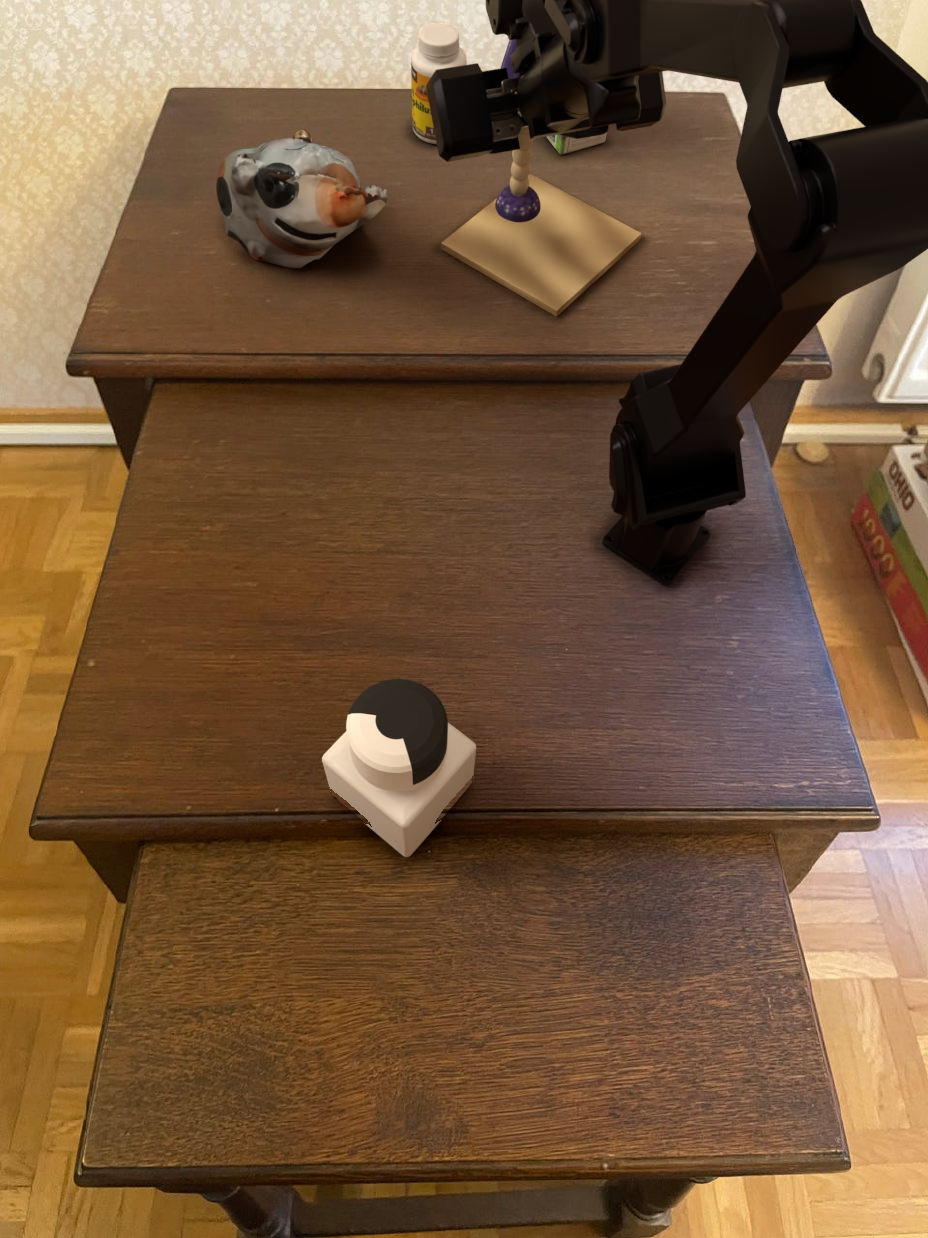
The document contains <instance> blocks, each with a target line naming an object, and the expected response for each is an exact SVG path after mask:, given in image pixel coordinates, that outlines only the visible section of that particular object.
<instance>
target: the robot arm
mask: <svg viewBox="0 0 928 1238" xmlns="http://www.w3.org/2000/svg"><path fill="white" fill-rule="evenodd" d="M485 10H486V15H487V17H488V21H489V25H490V29H491V31H492V33H493V35H495V36H499V35H506V36H507V38H508V41H509V40H515V42H516V48H517V49H516V50H515V51H514V52H513V53H512V55H511V62H512V68H513V73H514V74H515V73H520V77H518V78H512V79H508V73H507V68H501V67H500V68H495V69H489V70H482V68H481V66H480V65H479V63H478V62H477V63H470V64H467V65H463V66H457V67H451V68H444V69H438V70H436V71H435V72H434V74H433V75H432V77H431V78H430V80H429V81H428V83H427V85H426V89H427V95H428V100H429V105H430V111H431V116H432V121H433V126H434V132H435V137H436V142H437V144H436V147H437V152H438V156H439V157H440V158H441V159H443V160H444V161H445V162H447V163H449V162H454V161H461V160H466V159H472V158H477V157H478V158H479V157H481V156H484V155H488V154H490V155H494V154H501V153H506V152H511V151H512V152H513V150H518V149H520V145H519V139H518V135H519V134H520V132H521V128H523V127H528V128H529V134H530V139H534V140H535V139H540V138H547V137H546V136H552V135H558V134H559V135H563V136H566V137H570V138H574V139H581V138H586V137H592V136H598V135H603V134H605V133H606V132H607V133H608V131H609V128H610V126H612V125H616V131H618V132H626V131H631V130H637V129H644V128H649V127H652V126H654V125H656V124H657V123H658V122H660V121H661V120H662V118H663V116H664V114H665V111H666V107H667V97H666V91H665V89H666V88H665V83H664V82H665V81H664V74H663V72H674V73H680V74H685V75H690V76H691V75H692V76H697V77H703V78H710V79H715V80H721V81H727V82H733V83H738V84H739V86H740V90H741V92H742V95H743V97H744V100H745V102H746V111H745V115H744V121H743V123H742V129H741V134H740V140H739V144H738V148H737V155H736V159H735V166H736V170H737V173H738V176H739V178H740V182H741V184H742V187H743V189H744V192H745V194H746V195H745V196H746V198H747V200H748V203H749V207H750V208H749V210H748V213H747V216H746V217H747V222H748V226H749V230H750V232H751V233H750V234H751V236H752V240H753V243H754V247H755V253H754V255H753V256H752V257H751V259H750V261H749V262H748V264H747V266H745V269H744V270H743V271H742V273H741V274H740V276H739V278H737V280H736V282H735V283H734V285H733V286H732V288H731V289H730V291H729V292H728V294H727V295H726V297H725V298H724V300H723V301H722V303H721V304H720V306H719V307H718V308H717V310H716V312H715V313H714V315H713V316H712V318H711V319H710V321H709V322H708V323H707V325H706V326H705V328H704V330H703V331H702V332H701V334H700V335H699V337H698V339H697V340H696V341H695V342H694V344H693V346H692V348H691V349H690V350H689V352H688V353H687V355H686V356H685V358H683V361H682V362H681V363H680V364H677V365H672V366H671V365H670V366H667V367H661V368H658V369H653V370H648V371H644V372H639V373H638V374H637V375H636V376H635V377H634V378H633V379H632V380H631V382H630V385H629V387H628V390H627V392H626V394H625V396H624V397H621V398H618V404H619V405H620V407H621V409H620V410H619V411H618V413H617V416H616V419H615V423H614V425H613V427H612V429H611V432H610V434H609V437H610V438H609V466H608V467H609V468H608V470H609V471H608V478H609V485H610V487H611V488H612V491H613V495H612V500H611V503H610V507H611V509H612V511H613V512H614V513H615V514H618V515H620V516H621V517H620V518H619V519H618V520H617V521H616V523H615V524H614V525H612V527H611V528H610V529H609V530H608V532H606V534H604V536H603V537H602V541H601V543H602V545H603V547H605V548H606V549H607V550H609V551H611V552H612V553H613V554H615V555H617V556H618V557H620V558H622V559H623V560H624V561H626V562H627V563H629V564H630V565H632V566H634V567H635V568H637V569H638V570H640V571H641V572H643V573H644V574H645V575H647V576H649V577H650V578H652V579H653V580H655V581H657V583H659V584H661V585H662V586H666V587H667V586H670V585H672V584H673V582H674V581H675V580H676V579H677V577H678V576H680V574H681V573H682V572H683V570H684V569H685V568H686V566H688V565H689V563H690V562H691V561H692V560H693V558H694V557H695V556H697V554H698V552H699V551H700V550H701V549H702V548H703V546H704V545H705V544H706V543H707V542H708V541H709V539H710V537H711V531H710V530H709V529H708V528H706V527H705V526H704V525H702V524H703V521H704V518H705V516H706V514H707V511H710V510H715V509H719V508H722V507H726V506H729V507H730V506H735V505H737V504H738V503H740V502H742V501H743V500H745V498H746V496H747V492H746V483H745V476H744V467H743V458H742V448H741V441H742V439H743V437H744V435H745V431H744V427H743V425H742V422H741V420H740V417H739V414H740V412H742V410H743V409H744V408H745V407H746V405H747V404H748V403H749V402H750V401H751V400H752V399H753V398H754V396H756V394H757V393H758V392H759V390H761V388H762V387H763V386H764V385H765V384H766V383H767V382H768V380H769V379H771V377H772V376H773V375H774V374H775V372H776V371H777V370H778V369H779V368H780V366H782V364H783V363H784V362H785V361H786V360H787V359H788V357H789V356H790V355H791V354H792V353H793V352H794V351H795V349H796V348H797V347H798V346H799V345H800V344H801V343H802V342H803V340H804V339H805V338H806V337H807V336H808V335H809V334H810V332H811V331H812V330H814V328H815V327H816V325H817V324H818V323H819V322H820V321H821V320H822V319H823V317H824V316H825V315H826V314H827V313H828V312H829V311H830V309H831V308H832V307H833V306H834V305H835V304H836V302H837V301H839V300H840V299H841V298H843V297H845V296H847V295H848V294H850V293H853V292H855V291H857V290H859V289H861V288H864V287H865V286H867V285H869V284H872V283H874V282H875V281H878V280H880V279H882V278H884V277H886V276H888V275H890V274H892V273H894V272H896V271H898V270H900V269H901V268H903V267H905V266H906V265H907V264H909V263H911V262H912V261H913V260H915V258H917V257H919V256H921V254H923V253H924V252H926V251H927V250H928V80H927V79H926V78H925V77H924V76H922V75H921V74H920V73H919V72H918V71H917V70H916V69H915V68H914V67H913V66H911V64H909V63H908V62H907V61H906V60H905V59H904V58H902V57H901V56H900V55H899V54H898V53H897V52H896V51H895V50H893V49H892V48H891V46H889V45H888V44H887V43H886V42H885V41H883V40H882V39H881V38H880V37H879V35H877V34H876V33H875V31H874V28H873V26H872V24H871V21H870V18H869V16H868V13H867V11H866V9H865V6H864V4H863V1H862V0H485ZM823 82H824V86H825V88H826V90H827V92H828V93H829V95H830V96H831V98H833V99H834V100H835V101H836V102H837V103H838V104H840V105H841V106H842V107H843V108H844V109H845V110H846V111H847V112H848V113H849V114H850V115H851V116H853V117H854V118H855V119H856V120H857V121H858V122H859V123H861V124H862V125H863V126H861V127H855V128H850V129H845V130H840V131H833V132H829V133H823V134H819V135H812V136H806V137H801V138H796V139H791V140H789V139H788V136H787V134H786V131H785V128H784V126H783V123H782V121H781V118H780V115H779V108H780V103H781V98H782V93H783V89H788V88H795V87H799V86H805V85H811V84H817V83H823ZM516 90H517V92H516ZM518 112H520V113H521V116H520V114H519V113H518ZM609 541H610V542H609Z"/></svg>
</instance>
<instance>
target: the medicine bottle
mask: <svg viewBox="0 0 928 1238" xmlns="http://www.w3.org/2000/svg"><path fill="white" fill-rule="evenodd" d="M447 714H448V713H447V710H446V709H445V706H444V704H443V703H442V701H441V699H440V698H439V697H438V695H437V694H436V693H435V692H434V691H432V690H431V689H430V688H429V687H427V686H426V685H424V684H422V683H420V682H417V681H414V680H410V679H406V678H405V679H404V678H391V679H386V680H382V681H379V682H376V683H374V684H372V685H370V686H369V687H367V688H366V689H365V690H363V691H362V692H361V693H360V694H359V695H358V696H357V697H356V699H355V700H353V703H352V704H351V707H350V708H349V711H348V714H347V717H346V724H345V729H346V731H345V732H343V734H342V735H341V736H340V737H339V738H337V740H336V741H335V742H334V743H333V744H332V745H331V746H330V748H328V749H327V750H326V752H325V753H324V754H323V755H322V757H321V762H322V765H323V769H324V774H325V776H326V780H327V784H328V787H330V788H329V790H330V789H332V790H333V791H334V792H335V793H337V794H338V795H339V796H340V797H342V798H343V799H344V800H346V801H347V802H348V803H349V804H350V805H351V806H352V807H354V808H355V809H356V810H357V811H358V812H359V813H360V814H361V815H363V816H364V817H365V818H366V819H367V820H368V822H370V824H371V826H372V827H371V826H370V825H369V824H365V825H366V826H367V827H368V828H369V829H370V830H372V831H373V832H374V833H375V834H376V835H377V836H379V837H380V839H382V840H384V841H385V842H386V843H387V844H388V845H389V846H390V847H392V848H393V849H394V850H395V851H397V852H398V853H399V854H400V855H401V856H403V857H405V858H410V857H411V856H412V854H414V852H415V851H416V850H417V849H418V848H419V847H420V845H421V844H422V843H423V842H424V841H425V840H426V839H427V837H428V836H429V835H430V834H431V833H432V831H434V830H435V828H436V827H437V826H438V825H439V823H440V822H442V820H440V821H438V822H437V823H436V824H435V822H436V820H437V818H438V817H439V815H440V814H441V812H442V811H443V809H444V808H445V807H446V806H447V805H448V804H449V802H450V801H451V800H452V799H453V798H454V797H455V796H456V794H457V793H458V792H459V791H460V790H461V789H462V788H463V787H464V786H465V784H466V783H467V782H468V781H469V780H470V779H471V778H472V776H473V777H474V774H475V763H476V755H477V745H476V743H475V742H474V741H473V740H471V738H469V737H468V736H466V734H464V733H462V732H461V731H460V730H459V729H457V728H456V727H455V726H453V724H451V723H450V722H449V720H448V719H449V718H448V715H447Z"/></svg>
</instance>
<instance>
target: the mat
mask: <svg viewBox="0 0 928 1238" xmlns="http://www.w3.org/2000/svg"><path fill="white" fill-rule="evenodd" d="M528 178H529V186H530V187H531V188H532V189H534V190H535V192H536V193H537V194H538V197H539V200H540V206H541V208H540V212H539V214H538V216H536V217H535V218H534V219H532V220H530V221H527V222H511V221H509V220H506V219H504V218H503V217H501V216H500V215H499V214H498V213H497V211H496V208H495V203H496V200H497V197H496V198H495V199H494V200H492V201H491V202H490V203H489V204H487V205H486V206H485V207H484V208H482V209H481V210H480V211H479V212H478V213H476V214H475V215H474V216H473V217H471V218H470V219H469V220H468V221H466V222H465V223H463V225H461V226H460V227H459V228H458V229H457V230H455V231H453V233H451V234H450V235H449V236H448V237H446V238H445V239H444V240H443V241H442V242H440V249H441V251H443V252H445V253H446V254H448V255H450V256H452V257H453V258H455V259H457V260H458V261H460V262H462V263H464V264H466V265H467V266H469V267H470V268H473V270H475V271H478V272H479V273H481V274H482V275H484V276H486V277H488V278H489V279H491V280H492V281H494V282H496V283H497V284H500V285H501V286H503V287H505V288H506V289H508V290H510V291H512V292H513V293H515V294H517V295H519V296H520V297H521V298H523V299H525V300H527V301H528V302H530V303H532V304H533V305H536V306H537V307H539V308H540V309H542V310H544V311H545V312H548V313H549V314H551V315H553V316H554V317H558V316H559V315H560V314H561V313H563V311H565V310H566V309H567V308H568V307H569V306H570V305H571V304H572V303H573V302H575V300H577V299H578V298H579V297H580V296H581V295H582V294H583V293H584V292H585V291H586V290H587V289H589V288H590V287H592V285H593V284H594V283H595V282H596V281H597V280H598V279H599V278H600V277H602V276H603V275H604V274H605V273H606V272H607V271H608V270H609V269H610V268H612V267H613V266H614V265H615V264H617V262H618V261H619V260H620V259H622V258H623V256H624V255H625V254H627V253H628V252H629V251H630V250H632V248H633V247H634V246H635V245H637V244H638V243H639V242H640V241H641V239H642V232H641V231H638V230H636V229H634V228H633V227H631V226H628V225H627V224H625V223H623V222H621V221H619V220H618V219H616V218H614V217H612V216H611V215H609V214H606V213H604V211H603V212H602V211H601V210H599V209H598V208H595V207H593V206H592V205H589V204H588V203H586V202H584V201H583V200H580V199H578V198H577V197H575V196H574V195H571V194H569V193H567V192H566V191H563V190H562V189H560V188H558V187H556V186H554V185H552V184H550V183H549V182H547V181H545V180H543V179H541V178H539V177H537V176H535V174H532V173H530V174H529V176H528Z"/></svg>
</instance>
